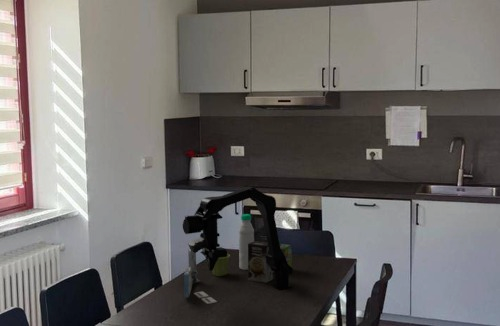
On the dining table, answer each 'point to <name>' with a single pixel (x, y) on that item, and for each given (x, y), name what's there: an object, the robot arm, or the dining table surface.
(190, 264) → the post
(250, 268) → the coffee box
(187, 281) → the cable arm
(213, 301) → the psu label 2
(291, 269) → the robot arm
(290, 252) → the chalk box
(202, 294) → the psu label
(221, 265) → the plant pot
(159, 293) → the dining table surface
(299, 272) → the dining table surface
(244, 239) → the water bottle
